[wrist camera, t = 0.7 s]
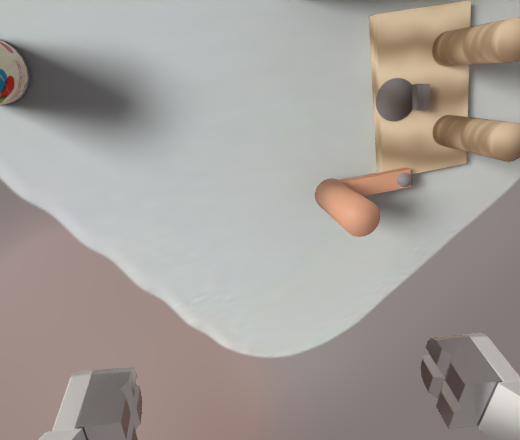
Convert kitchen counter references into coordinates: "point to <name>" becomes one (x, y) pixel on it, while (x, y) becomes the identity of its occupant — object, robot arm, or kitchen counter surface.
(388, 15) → the wooden peg stand
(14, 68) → the aerosol can
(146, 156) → the kitchen counter surface
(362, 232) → the hinged leg
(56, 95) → the kitchen counter surface
